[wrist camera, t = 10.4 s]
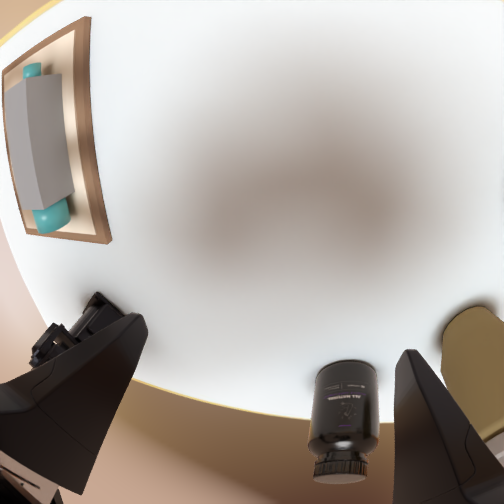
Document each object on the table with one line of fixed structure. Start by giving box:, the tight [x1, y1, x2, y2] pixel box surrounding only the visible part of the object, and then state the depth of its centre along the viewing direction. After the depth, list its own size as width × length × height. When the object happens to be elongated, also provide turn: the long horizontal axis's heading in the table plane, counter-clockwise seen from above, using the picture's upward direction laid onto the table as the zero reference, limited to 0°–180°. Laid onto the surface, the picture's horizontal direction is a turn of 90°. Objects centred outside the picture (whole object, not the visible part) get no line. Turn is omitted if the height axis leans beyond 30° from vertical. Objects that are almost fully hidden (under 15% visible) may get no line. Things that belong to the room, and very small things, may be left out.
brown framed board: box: [2, 16, 112, 244], centre depth 19 cm, size 21×15×1 cm
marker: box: [4, 62, 75, 234], centre depth 17 cm, size 15×4×4 cm, turn 0°
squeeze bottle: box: [441, 306, 504, 467], centre depth 13 cm, size 8×8×18 cm
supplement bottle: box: [308, 361, 379, 484], centre depth 22 cm, size 7×7×12 cm
